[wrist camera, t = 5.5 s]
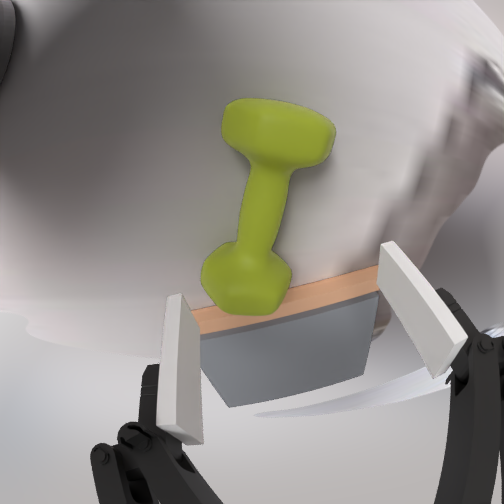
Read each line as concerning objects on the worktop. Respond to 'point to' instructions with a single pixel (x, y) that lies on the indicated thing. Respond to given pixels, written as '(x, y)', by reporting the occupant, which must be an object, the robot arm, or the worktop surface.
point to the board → (290, 352)
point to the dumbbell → (263, 200)
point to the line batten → (295, 300)
